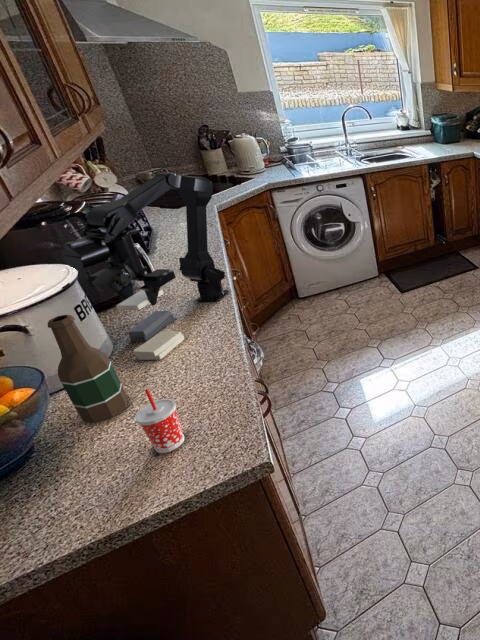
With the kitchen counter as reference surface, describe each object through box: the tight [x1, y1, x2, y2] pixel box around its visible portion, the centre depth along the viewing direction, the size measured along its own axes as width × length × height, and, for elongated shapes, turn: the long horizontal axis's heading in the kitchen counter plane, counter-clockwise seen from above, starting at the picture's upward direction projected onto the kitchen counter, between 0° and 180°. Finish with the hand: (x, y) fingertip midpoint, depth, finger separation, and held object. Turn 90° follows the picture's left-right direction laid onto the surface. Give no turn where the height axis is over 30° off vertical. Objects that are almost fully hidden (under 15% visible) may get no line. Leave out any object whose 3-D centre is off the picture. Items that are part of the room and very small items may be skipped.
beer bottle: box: [47, 314, 129, 424], centre depth 85 cm, size 8×8×24 cm
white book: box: [115, 288, 165, 311], centre depth 113 cm, size 9×6×1 cm, turn 2°
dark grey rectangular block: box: [127, 310, 175, 342], centre depth 117 cm, size 11×4×3 cm, turn 2°
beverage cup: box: [134, 388, 186, 454], centre depth 80 cm, size 6×6×14 cm
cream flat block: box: [132, 330, 185, 361], centre depth 109 cm, size 10×6×3 cm, turn 2°
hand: (143, 304), depth 114 cm, fingers closed on white book, 5 cm apart
